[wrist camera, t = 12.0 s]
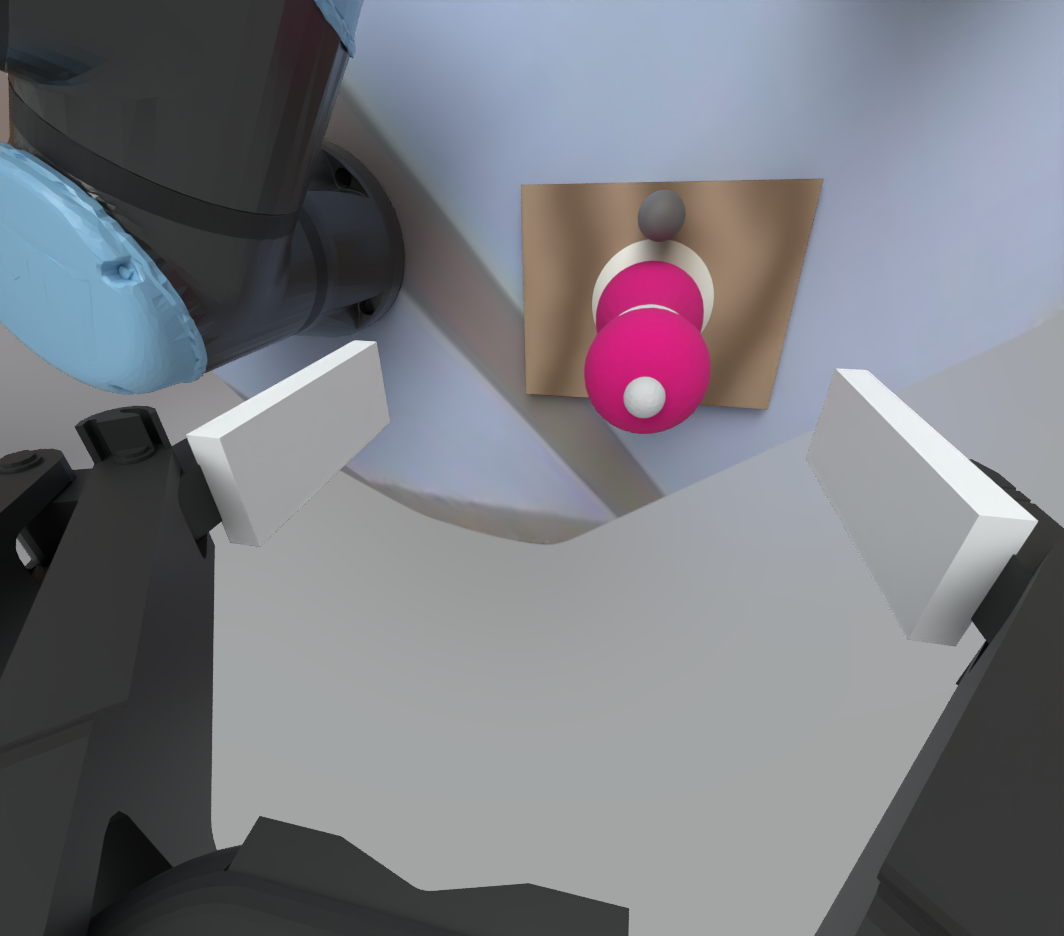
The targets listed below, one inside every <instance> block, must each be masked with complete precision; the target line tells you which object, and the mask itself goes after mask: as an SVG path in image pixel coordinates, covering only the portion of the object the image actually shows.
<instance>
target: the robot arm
mask: <svg viewBox="0 0 1064 936" xmlns="http://www.w3.org/2000/svg"><path fill="white" fill-rule="evenodd" d="M362 3H363V0H0V70H1V71H3V72H6V73H8V80H9V121H10V137H9V141H8V143H2V142H0V322H1V323H2V324H3V325H4V326H5V327H6V328H7V329H8V330H9V331H10V332H11V333H12V334H14V336H15V337H16V338H17V339H18V340H20V341H21V342H22V343H23V344H24V345H25V346H27V347H28V348H29V349H30V350H32V351H33V352H34V353H35V354H36V355H38V356H39V357H41V358H42V359H43V360H45V361H46V362H47V363H49V364H50V365H52V366H53V367H55V368H57V369H58V370H60V371H61V372H63V373H65V374H66V375H68V376H70V377H72V378H74V379H76V380H78V381H80V382H82V383H84V384H87V385H89V386H92V387H95V388H97V389H101V390H104V391H108V392H113V393H119V394H142V393H150V392H154V391H157V390H159V389H163V388H165V387H169V386H172V385H175V384H179V383H189V382H193V381H195V380H197V379H199V378H200V377H201V376H203V374H204V373H207V372H209V371H211V370H213V369H216V368H218V367H220V366H223V365H225V364H227V363H229V362H232V361H234V360H236V359H239V358H241V357H243V356H246V355H248V354H250V353H253V352H255V351H257V350H260V349H262V348H264V347H267V346H269V345H271V344H274V343H276V342H278V341H281V340H283V339H285V338H288V337H290V336H292V335H306V336H319V337H339V336H345V335H349V334H352V333H355V332H357V331H359V330H361V329H363V328H365V327H367V326H369V325H371V324H373V323H375V322H376V321H377V320H379V319H380V318H381V317H382V316H383V315H384V314H385V313H386V312H387V311H388V310H389V308H390V307H391V306H392V304H393V302H394V301H395V299H396V297H397V294H398V292H399V289H400V286H401V282H402V278H403V271H404V246H403V239H402V234H401V230H400V226H399V223H398V219H397V217H396V214H395V211H394V209H393V207H392V205H391V203H390V201H389V199H388V197H387V195H386V193H385V191H384V190H383V188H382V187H381V185H380V184H379V182H378V181H377V180H376V178H375V177H374V176H373V175H372V174H371V172H370V171H369V170H368V169H367V168H366V167H365V166H364V165H363V164H362V163H361V162H360V161H359V160H357V159H356V158H355V157H354V156H352V155H351V154H350V153H348V152H347V151H345V150H344V149H342V148H340V147H338V146H336V145H334V144H332V143H330V142H327V141H324V140H323V139H324V136H325V133H326V129H327V126H328V123H329V120H330V117H331V114H332V110H333V107H334V104H335V101H336V98H337V95H338V92H339V88H340V85H341V82H342V79H343V76H344V73H345V69H346V66H347V63H348V60H349V57H352V58H353V56H354V54H355V42H354V35H355V31H356V26H357V22H358V19H359V15H360V11H361V7H362ZM389 423H390V418H389V412H388V406H387V400H386V394H385V388H384V382H383V376H382V370H381V365H380V359H379V353H378V347H377V342H374V341H357V340H354V341H352V342H350V343H348V344H347V345H345V346H343V347H341V348H340V349H338V350H336V351H334V352H332V353H331V354H329V355H327V356H325V357H324V358H322V359H320V360H318V361H316V362H315V363H313V364H311V365H309V366H307V367H306V368H304V369H302V370H300V371H299V372H297V373H295V374H293V375H291V376H290V377H288V378H286V379H284V380H283V381H281V382H279V383H277V384H275V385H274V386H272V387H270V388H268V389H267V390H265V391H263V392H261V393H259V394H258V395H256V396H254V397H252V398H251V399H249V400H247V401H245V402H243V403H242V404H240V405H238V406H236V407H235V408H233V409H231V410H229V411H227V412H226V413H224V414H222V415H221V416H218V417H217V418H215V419H213V420H212V421H210V422H208V423H206V424H204V425H202V426H201V427H199V428H197V429H195V430H194V431H192V432H190V433H188V434H186V437H187V438H186V439H184V440H182V441H180V442H179V443H177V444H175V445H174V446H171V444H170V442H169V439H168V437H167V435H166V432H165V430H164V428H163V426H162V423H161V421H160V419H159V417H158V414H157V412H156V410H155V408H151V407H149V406H131V407H122V408H117V409H112V410H108V411H104V412H102V413H98V414H95V415H92V416H90V417H88V418H86V419H84V420H82V421H80V422H79V423H78V424H77V425H76V426H75V428H76V430H77V432H78V434H79V436H80V437H81V439H82V441H83V443H84V445H85V447H86V449H87V451H88V452H89V454H90V456H91V457H92V460H93V462H94V466H93V468H92V469H79V470H72V469H71V467H70V465H69V464H68V462H67V460H66V458H65V457H64V455H63V453H62V452H61V451H59V450H55V449H39V450H33V451H29V450H24V451H19V452H17V453H12V454H8V455H6V456H4V457H3V458H1V459H0V936H628V926H629V924H628V923H629V908H625V907H621V906H617V905H613V904H609V903H605V902H601V901H597V900H593V899H589V898H585V897H581V896H577V895H573V894H569V893H565V892H561V891H557V890H553V889H549V888H545V887H541V886H537V885H533V884H529V883H527V884H515V885H502V886H490V887H478V888H465V889H453V890H439V891H424V890H420V889H417V888H415V887H414V886H412V885H410V884H409V883H408V882H406V881H405V880H403V879H402V878H400V877H399V876H398V875H396V874H395V873H393V872H392V871H390V870H389V869H387V868H386V867H384V866H383V865H382V864H380V863H379V862H377V861H376V860H374V859H373V858H372V857H370V856H368V855H367V854H366V853H364V852H363V851H361V850H360V849H359V848H357V847H356V846H354V845H353V844H351V843H350V842H348V841H347V840H346V839H344V838H343V837H341V836H337V835H334V834H330V833H326V832H322V831H318V830H313V829H310V828H306V827H302V826H297V825H294V824H290V823H286V822H282V821H278V820H274V819H270V818H266V817H262V816H259V818H258V820H257V821H256V823H255V825H254V826H253V828H252V830H251V831H250V833H249V835H248V836H247V838H246V840H245V841H244V843H243V844H242V845H239V846H234V847H230V848H225V849H221V850H216V846H215V843H214V840H213V834H212V828H211V778H212V777H211V776H212V773H211V772H212V771H211V770H212V705H213V704H212V703H213V698H212V697H213V631H214V630H213V629H214V558H215V553H214V552H215V545H214V543H213V540H212V538H211V536H210V534H209V531H210V530H211V529H213V528H214V527H215V526H216V525H217V524H219V523H220V522H222V524H223V526H224V529H225V531H226V534H227V536H228V538H229V541H230V543H235V544H243V545H249V546H257V547H260V546H262V544H263V543H265V542H266V541H267V540H268V539H269V538H270V537H271V536H272V535H273V534H274V533H275V532H276V531H277V530H278V529H279V528H280V527H281V526H282V525H283V524H284V523H285V522H286V521H288V520H289V519H290V518H291V517H292V516H293V515H294V514H295V513H296V512H297V511H298V510H299V509H300V508H301V507H302V506H303V505H304V504H305V503H306V502H307V501H308V500H309V499H310V498H312V497H313V496H314V495H315V494H316V493H317V492H318V491H319V490H320V489H321V488H322V487H323V486H324V485H325V484H326V483H327V482H328V481H329V480H330V479H331V478H332V477H333V476H334V475H335V474H337V473H338V472H339V471H340V470H341V469H342V468H343V467H344V466H345V465H346V464H347V463H348V462H349V461H350V460H351V459H352V458H353V457H354V456H355V455H356V454H357V453H358V452H359V451H361V450H362V449H363V448H364V447H365V446H366V445H367V444H368V443H369V442H370V441H371V440H372V439H373V438H374V437H375V436H376V435H377V434H378V433H379V432H380V431H381V430H382V429H383V428H385V427H386V426H387V425H388V424H389ZM806 460H807V462H808V464H809V465H810V467H811V469H812V471H813V472H814V474H815V476H816V478H817V480H818V481H819V483H820V485H821V487H822V489H823V490H824V492H825V494H826V495H827V498H828V499H829V501H830V503H831V505H832V506H833V508H834V510H835V512H836V513H837V515H838V517H839V519H840V520H841V522H842V524H843V526H844V528H845V530H846V531H847V533H848V535H849V537H850V538H851V540H852V542H853V544H854V545H855V547H856V549H857V551H858V553H859V554H860V556H861V558H862V560H863V561H864V563H865V565H866V567H867V568H868V570H869V572H870V574H871V576H872V577H873V579H874V581H875V583H876V585H877V586H878V588H879V590H880V592H881V593H882V595H883V597H884V599H885V601H886V602H887V604H888V606H889V608H890V610H891V611H892V613H893V615H894V617H895V618H896V620H897V622H898V624H899V626H900V627H901V629H902V631H903V633H904V634H905V636H906V638H907V639H908V640H914V641H921V642H929V643H935V644H942V645H950V646H956V645H957V643H958V642H959V640H960V639H961V637H962V636H963V634H964V633H965V631H966V630H967V628H968V627H969V625H970V624H971V622H973V623H974V624H975V626H976V627H977V628H978V630H979V631H980V633H981V634H982V635H983V637H984V638H985V639H986V641H985V643H984V644H983V645H982V647H981V648H980V650H979V651H978V653H977V654H976V655H975V657H974V658H973V660H972V661H971V663H970V664H969V665H968V667H967V668H966V670H965V671H964V672H963V674H962V675H961V677H960V678H959V680H958V681H957V682H956V684H957V685H958V687H957V689H956V690H955V692H954V694H953V695H952V697H951V699H950V701H949V702H948V704H947V706H946V708H945V710H944V711H943V713H942V715H941V716H940V718H939V720H938V722H937V723H936V725H935V727H934V729H933V730H932V732H931V734H930V736H929V737H928V739H927V741H926V743H925V744H924V746H923V748H922V750H921V751H920V753H919V755H918V757H917V758H916V760H915V762H914V763H913V765H912V767H911V769H910V770H909V772H908V774H907V776H906V777H905V779H904V781H903V783H902V784H901V786H900V788H899V789H898V791H897V793H896V795H895V796H894V798H893V800H892V802H891V804H890V805H889V807H888V809H887V810H886V812H885V814H884V816H883V817H882V819H881V821H880V823H879V824H878V826H877V828H876V830H875V831H874V833H873V835H872V837H871V838H870V840H869V842H868V843H867V845H866V847H865V849H864V850H863V852H862V854H861V856H860V857H859V859H858V861H857V863H856V864H855V866H854V868H853V870H852V871H851V873H850V875H849V876H848V879H847V880H846V882H845V884H844V885H843V887H842V889H841V890H840V892H839V894H838V896H837V897H836V899H835V901H834V903H833V904H832V906H831V908H830V910H829V911H828V913H827V915H826V917H825V918H824V920H823V922H822V924H821V925H820V927H819V929H818V931H817V932H816V934H815V936H1064V528H1063V527H1061V526H1060V525H1059V524H1058V523H1057V522H1056V521H1054V520H1053V519H1052V518H1051V517H1050V516H1048V515H1047V514H1046V513H1045V512H1044V511H1042V510H1041V509H1040V508H1039V507H1038V506H1037V505H1035V504H1032V503H1030V501H1031V500H1030V499H1028V498H1027V497H1026V496H1025V495H1024V494H1022V493H1021V492H1020V491H1016V488H1015V487H1014V486H1013V485H1012V484H1011V483H1009V482H1008V481H1007V480H1006V479H1005V478H1004V477H1002V476H1001V475H1000V474H999V473H997V472H995V471H993V470H991V469H989V468H987V467H986V466H984V465H982V464H980V463H978V462H976V461H974V460H972V459H967V458H966V457H965V456H964V455H963V454H961V453H960V452H959V451H958V450H957V449H956V448H955V447H953V446H952V445H951V444H950V443H949V442H948V441H947V440H946V439H944V438H943V437H942V436H941V435H940V434H939V433H938V432H937V431H935V430H934V429H933V428H932V427H931V426H930V425H929V424H928V423H926V422H925V421H924V420H923V419H922V418H921V417H919V416H918V415H917V414H916V413H915V412H914V411H913V410H912V409H910V408H909V407H908V406H907V405H906V404H905V403H904V402H902V401H901V400H900V399H899V398H898V397H897V396H896V395H895V394H894V393H892V392H891V391H890V390H889V389H888V388H887V387H886V386H884V385H883V384H882V383H881V382H880V381H879V380H878V379H876V378H875V377H874V376H873V375H872V374H871V373H870V372H869V371H867V370H854V369H837V368H835V371H834V374H833V377H832V380H831V383H830V386H829V389H828V392H827V396H826V399H825V402H824V405H823V408H822V411H821V414H820V417H819V420H818V423H817V426H816V429H815V432H814V435H813V438H812V441H811V445H810V447H809V450H808V454H807V456H806ZM16 538H17V539H18V540H19V542H20V543H21V545H22V546H23V547H24V549H25V550H26V552H27V553H28V555H29V556H30V557H31V561H30V562H29V563H28V564H27V565H26V566H24V565H23V563H22V561H21V560H20V559H19V556H18V554H17V552H16Z"/></svg>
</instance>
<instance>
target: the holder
mask: <svg viewBox="0 0 1064 936" xmlns="http://www.w3.org/2000/svg"><path fill="white" fill-rule="evenodd" d="M822 183H823V179H789V180H740V181H690V182H641V183H591V184H542V185H521V204H522V244H523V285H524V325H525V366H526V394H541V395H556V396H572V397H587V398H589V396H588V393H587V391H586V387H585V379H584V366H585V360H586V356H587V353H588V350H589V348H590V346H591V344H592V342H593V340H594V338H595V337H596V335H597V330H596V310H597V306H598V302H599V299H600V296H601V294H602V292H603V290H604V289H605V287H606V285H607V284H608V283H609V282H610V281H611V279H612V278H613V277H614V276H616V275H617V274H618V273H619V272H620V271H622V270H624V269H625V268H627V267H629V266H631V265H633V264H636V263H640V262H644V261H663V262H667V263H671V264H673V265H676V266H678V267H679V268H681V269H682V270H684V271H685V272H687V273H688V274H689V275H690V276H691V277H692V278H693V280H694V281H695V283H696V284H697V286H698V288H699V290H700V292H701V295H702V299H703V306H704V317H703V325H702V329H701V333H700V334H701V336H702V337H703V339H704V341H705V343H706V345H707V348H708V351H709V355H710V363H711V371H710V380H709V384H708V389H707V391H706V394H705V396H704V398H703V400H702V401H701V403H700V404H699V405H711V406H726V407H742V408H757V409H768V405H769V401H770V397H771V393H772V389H773V385H774V381H775V376H776V372H777V368H778V364H779V360H780V356H781V352H782V348H783V344H784V339H785V335H786V331H787V327H788V323H789V319H790V315H791V311H792V307H793V303H794V298H795V294H796V290H797V286H798V282H799V278H800V274H801V270H802V266H803V261H804V257H805V253H806V249H807V245H808V241H809V237H810V233H811V229H812V225H813V220H814V216H815V212H816V208H817V204H818V200H819V196H820V192H821V188H822Z"/></svg>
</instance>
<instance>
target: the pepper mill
mask: <svg viewBox="0 0 1064 936" xmlns="http://www.w3.org/2000/svg"><path fill="white" fill-rule="evenodd" d="M703 317H704V306H703V299H702V295H701V292H700V290H699V288H698V286H697V284H696V283H695V281H694V280H693V278H692V277H691V276H690V275H689V274H688V273H687V272H685V271H684V270H682V269H681V268H679V267H678V266H676V265H673V264H671V263H667V262H663V261H644V262H640V263H636V264H633V265H631V266H629V267H627V268H625V269H624V270H622V271H620V272H619V273H618V274H617V275H616V276H614V277H613V278H612V279H611V281H610V282H609V283H608V284H607V285H606V287H605V289H604V290H603V292H602V294H601V296H600V299H599V302H598V306H597V310H596V330H597V335H596V337H595V338H594V340H593V342H592V344H591V346H590V348H589V350H588V353H587V356H586V360H585V366H584V379H585V387H586V391H587V393H588V396H589V399H590V401H591V402H592V404H593V406H594V408H595V409H596V411H597V412H598V413H599V414H600V415H601V416H602V417H603V418H604V419H605V420H606V421H608V422H609V423H610V424H612V425H614V426H616V427H618V428H620V429H622V430H625V431H628V432H632V433H638V434H648V433H656V432H661V431H664V430H667V429H670V428H672V427H674V426H676V425H678V424H680V423H682V422H683V421H684V420H685V419H687V418H688V417H689V416H690V415H691V414H692V413H693V412H694V411H695V410H696V408H697V407H698V405H699V404H700V403H701V401H702V400H703V398H704V396H705V394H706V391H707V389H708V384H709V380H710V371H711V363H710V355H709V351H708V348H707V345H706V343H705V341H704V339H703V337H702V336H701V334H700V333H701V329H702V325H703Z"/></svg>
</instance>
